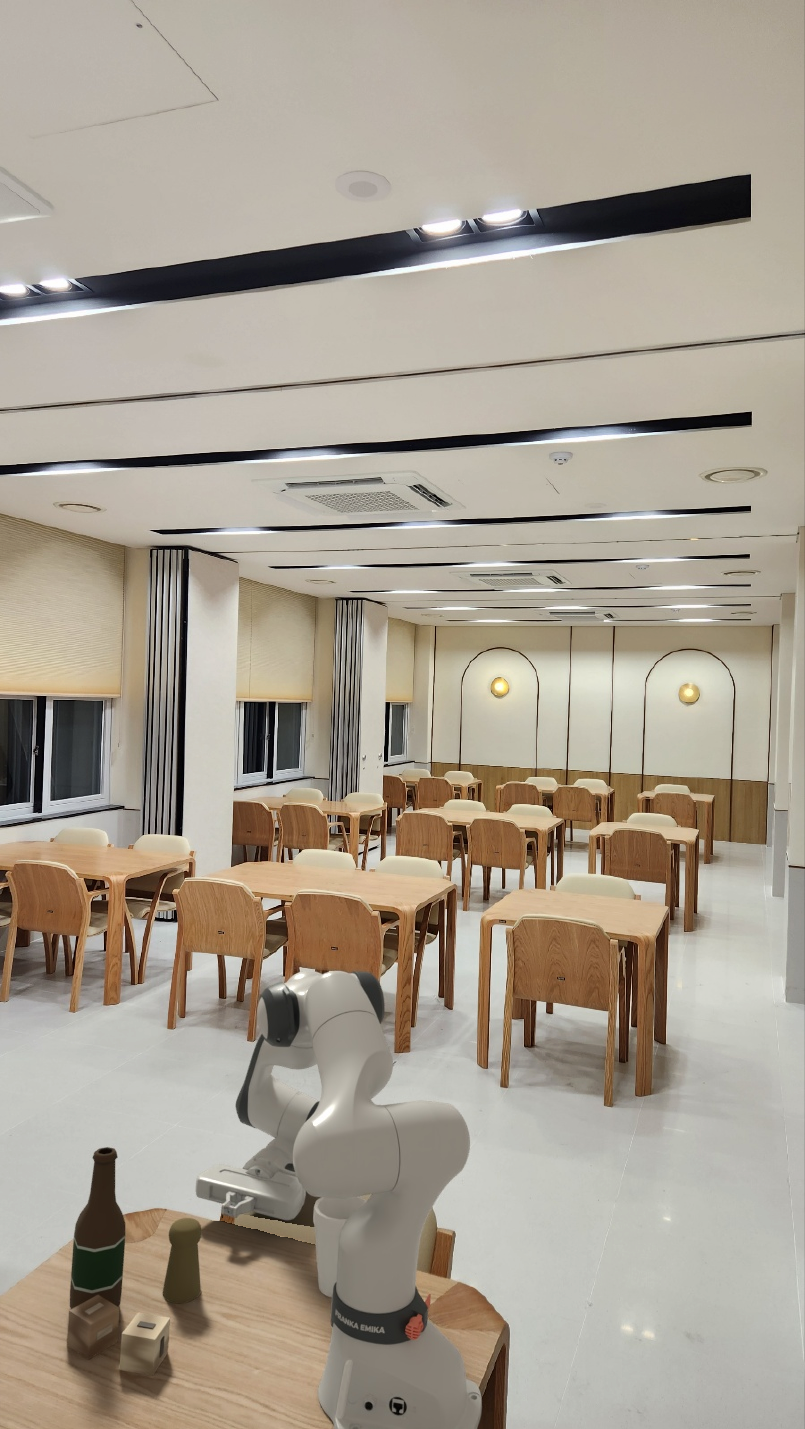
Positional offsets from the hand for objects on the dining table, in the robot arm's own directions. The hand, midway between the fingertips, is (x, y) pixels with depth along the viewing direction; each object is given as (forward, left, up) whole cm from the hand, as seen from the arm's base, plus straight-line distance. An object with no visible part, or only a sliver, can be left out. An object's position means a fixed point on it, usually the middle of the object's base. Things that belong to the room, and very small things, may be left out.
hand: (228, 1211), depth 159 cm
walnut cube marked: (+5, +30, -6) cm, 31 cm away
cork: (0, +14, -6) cm, 16 cm away
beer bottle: (+10, +23, -6) cm, 26 cm away
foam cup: (-22, +2, -6) cm, 24 cm away
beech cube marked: (-4, +30, -6) cm, 31 cm away
